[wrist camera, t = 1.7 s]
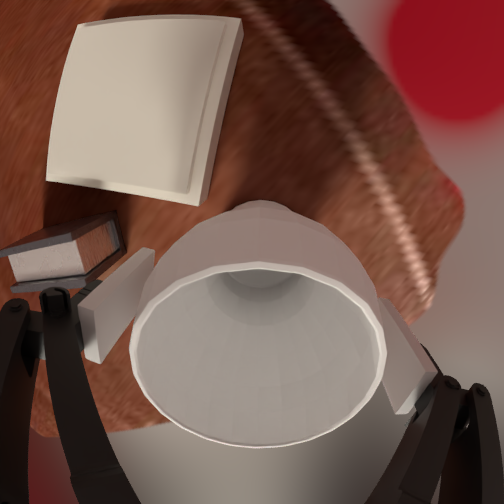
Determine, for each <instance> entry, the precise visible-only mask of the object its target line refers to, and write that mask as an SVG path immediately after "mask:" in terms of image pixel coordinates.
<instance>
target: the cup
mask: <svg viewBox="0 0 504 504" xmlns="http://www.w3.org/2000/svg"><path fill="white" fill-rule="evenodd" d="M129 352H130V358H131V363H132V369H133V374H134V376H135V378H136V380H137V382H138V384H139V386H140V388H141V389H142V391H143V393H144V395H145V396H146V397H147V398H148V400H149V401H150V402H151V403H152V404H153V405H154V406H155V407H156V409H157V410H158V411H159V412H160V413H161V414H163V415H164V416H165V417H167V418H168V419H169V420H171V421H172V422H174V423H175V424H176V425H178V426H179V427H181V428H183V429H185V430H187V431H189V432H191V433H193V434H195V435H197V436H200V437H202V438H204V439H207V440H211V441H214V442H218V443H222V444H226V445H230V446H237V447H247V448H272V447H284V446H288V445H293V444H297V443H302V442H306V441H309V440H312V439H314V438H317V437H319V436H321V435H324V434H326V433H328V432H331V431H333V430H334V429H336V428H337V427H339V426H341V425H342V424H343V423H345V422H346V421H348V420H349V419H351V418H352V417H354V416H355V415H356V414H357V413H358V412H359V411H360V409H361V408H362V407H363V406H364V405H365V404H366V403H367V402H368V401H369V400H370V399H371V397H372V395H373V394H374V392H375V390H376V388H377V387H378V385H379V383H380V381H381V379H382V377H383V373H384V368H385V363H386V358H387V352H388V351H387V344H386V338H385V332H384V327H383V322H382V317H381V312H380V308H379V303H378V299H377V295H376V291H375V286H374V284H373V283H372V281H371V279H370V278H369V276H368V274H367V273H366V271H365V269H364V268H363V266H362V264H361V263H360V261H359V260H358V259H357V257H356V256H355V255H354V254H353V253H352V251H351V250H350V249H349V248H348V247H347V245H346V244H345V243H344V242H342V241H341V240H340V239H339V238H338V237H337V236H335V235H334V234H333V233H332V232H331V231H329V230H328V229H327V228H326V227H325V226H323V225H322V224H320V223H318V222H315V221H313V220H311V219H309V218H306V217H304V216H302V215H300V214H297V213H295V212H292V211H291V210H290V209H288V208H287V207H286V206H283V205H281V204H279V203H276V202H273V201H266V200H257V201H249V202H246V203H244V204H241V205H239V206H236V207H235V208H234V209H232V210H231V211H227V212H224V213H222V214H219V215H217V216H215V217H212V218H210V219H208V220H205V221H203V222H201V223H198V224H197V225H196V226H194V227H193V228H192V229H191V230H190V231H188V232H187V233H186V234H185V235H184V236H182V237H181V238H180V239H179V240H178V241H176V242H175V243H174V244H173V245H172V246H171V247H170V249H169V250H168V251H167V252H166V253H165V254H164V255H163V256H162V257H161V258H160V260H159V261H158V263H157V265H156V266H155V268H154V269H153V271H152V273H151V274H150V276H149V277H148V279H147V281H146V282H145V284H144V288H143V291H142V294H141V298H140V301H139V305H138V309H137V312H136V316H135V320H134V324H133V329H132V334H131V339H130V345H129Z"/></svg>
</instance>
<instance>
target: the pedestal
mask: <svg viewBox="0 0 504 504" xmlns="http://www.w3.org/2000/svg"><path fill="white" fill-rule="evenodd" d="M243 36H244V32H243V27H242V21H241V18H233V17H222V16H208V15H148V16H134V17H124V18H115V19H108V20H101V21H95V22H89V23H84V24H79V25H78V26H77V29H76V32H75V34H74V37H73V40H72V43H71V46H70V49H69V53H68V56H67V59H66V63H65V66H64V70H63V74H62V78H61V82H60V86H59V90H58V95H57V99H56V104H55V110H54V115H53V121H52V127H51V134H50V142H49V150H48V160H47V173H46V181H53V182H60V183H67V184H73V185H80V186H86V187H93V188H99V189H105V190H111V191H117V192H123V193H129V194H135V195H141V196H146V197H152V198H157V199H163V200H168V201H174V202H179V203H184V204H189V205H194V206H199V205H201V204H202V203H203V202H204V201H205V200H206V199H207V197H208V192H209V186H210V181H211V176H212V170H213V165H214V160H215V155H216V150H217V145H218V140H219V136H220V131H221V126H222V122H223V117H224V113H225V108H226V104H227V100H228V95H229V91H230V87H231V83H232V79H233V75H234V71H235V67H236V63H237V59H238V55H239V51H240V48H241V44H242V40H243Z"/></svg>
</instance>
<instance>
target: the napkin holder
mask: <svg viewBox="0 0 504 504" xmlns="http://www.w3.org/2000/svg"><path fill="white" fill-rule="evenodd" d="M126 253H127V252H126V248H125V245H124V241H123V237H122V233H121V229H120V225H119V221H118V216H117V212H116V210H115V211H110V212H106V213H102V214H97V215H93V216H89V217H85V218H81V219H77V220H73V221H69V222H65V223H61V224H57V225H54V226H50V227H46V228H43V229H41V230H38V231H36V232H34V233H32V234H30V235H28V236H26V237H24V238H22V239H20V240H18V241H16V242H14V243H12V244H10V245H9V246H7V247H5V248H3V249H1V250H0V257H4V256H8V257H9V260H10V263H11V266H12V269H13V272H14V275H15V278H16V280H17V282H16V283H15V284H13V285H12V286H11V287H10V288H11V291H12V293H19V292H33V291H43V290H44V289H47V288H49V287H62V288H65V289H72V288H83V287H85V286H86V285H87V284H88V283H90V282H92V281H95V280H96V279H97V278H98V277H99V276H100V275H102V274H103V273H104V272H105V271H106V270H107V269H108V268H110V267H111V266H112V265H113V264H114V263H115V262H117V261H118V260H119V259H120V258H121V257H123V256H124V255H125V254H126Z"/></svg>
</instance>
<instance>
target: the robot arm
mask: <svg viewBox="0 0 504 504" xmlns="http://www.w3.org/2000/svg"><path fill="white" fill-rule="evenodd" d="M154 256H155V250H153V249H148V248H144V247H142V248H141V249H140V250H139V251H138V252H136V253H135V254H134V255H133V256H132V257H130V258H129V259H128V260H127V261H126V262H125V263H123V264H122V265H121V266H120V267H119V268H118V269H117V270H115V271H114V272H113V273H112V274H111V275H110V276H109V277H108V278H106V279H105V280H104V281H101V280H98V279H97V280H95V281H92V282H90V283H88V284H87V285H86V286H85V287H83V289H81V290H80V291H79V292H78V293H76V294H75V295H74V296H73V297H72V298H71V299H70V293H69V291H68V290H66V289H65V288H62V287H49V288H47V289H44V290H43V291H42V292H41V293H40V295H39V299H40V304H41V310H42V312H37V311H31V310H30V308H29V304H28V302H27V301H26V300H24V299H20V298H17V299H16V298H15V299H11V300H9V301H8V302H6V303H5V304H4V305H3V307H2V309H1V311H0V504H29V489H28V445H29V444H28V443H29V428H30V418H31V409H32V401H33V394H34V388H35V382H36V376H37V371H38V366H39V361H40V359H44V360H46V368H47V375H48V382H49V388H50V394H51V400H52V405H53V410H54V415H55V419H56V423H57V427H58V431H59V435H60V439H61V443H62V446H63V450H64V453H65V456H66V459H67V462H68V465H69V469H70V472H71V477H70V479H71V484H72V487H73V489H74V492H75V494H76V497H77V500H78V502H79V504H141V502H140V501H139V499H138V497H137V496H136V494H135V492H134V490H133V488H132V486H131V484H130V483H129V481H128V479H127V477H126V475H125V473H124V471H123V469H122V468H121V466H120V464H119V462H118V460H117V458H116V456H115V453H114V451H113V449H112V447H111V444H110V442H109V440H108V437H107V434H106V432H105V429H104V427H103V424H102V422H101V419H100V416H99V413H98V411H97V408H96V405H95V402H94V399H93V396H92V393H91V389H90V386H89V383H88V379H87V376H86V372H85V369H84V365H83V361H82V357H81V351H82V350H83V349H84V352H85V357H86V359H89V360H91V361H94V362H96V363H99V364H101V363H102V362H103V360H104V359H105V357H106V356H107V354H108V353H109V351H110V350H111V349H112V347H113V346H114V344H115V343H116V341H117V340H118V339H119V337H120V336H121V334H122V333H123V332H124V330H125V329H126V327H127V326H128V325H129V323H130V322H131V321H132V319H133V318H134V316H135V315H136V312H137V309H138V305H139V301H140V298H141V294H142V291H143V288H144V284H145V282H146V281H147V279H148V277H149V276H150V274H151V273H152V271H153V269H154ZM378 303H379V308H380V312H381V317H382V322H383V327H384V332H385V338H386V344H387V351H388V352H387V358H386V363H385V368H384V373H383V377H382V379H381V380H382V382H383V385H384V388H385V390H386V392H387V395H388V397H389V400H390V403H391V405H392V408H393V410H394V412H395V414H407V413H408V412H409V411H410V410H411V408H412V407H413V406H414V405H415V408H416V410H417V411H416V412H415V413H414V415H413V416H412V417H411V419H409V421H408V422H407V423H406V424H405V426H407V425H408V424H409V425H408V427H407V429H406V431H405V434H404V436H403V438H402V440H401V442H400V444H399V446H398V448H397V450H396V452H395V454H394V455H393V457H392V459H391V461H390V463H389V465H388V466H387V468H386V470H385V472H384V473H383V475H382V477H381V478H380V480H379V482H378V483H377V485H376V487H375V488H374V490H373V491H372V493H371V494H370V496H369V497H368V499H367V500H366V502H365V503H364V504H431V499H432V497H433V495H434V492H435V489H436V487H437V484H438V481H439V478H440V476H441V484H440V493H439V501H438V504H504V479H503V467H502V456H501V448H500V441H499V435H498V430H497V424H496V419H495V414H494V409H493V405H492V400H491V397H490V393H489V392H488V390H487V388H486V387H484V385H481V384H479V383H474V384H473V385H472V387H471V388H470V389H469V390H465V389H461V386H460V384H459V382H458V381H457V380H456V379H454V378H453V377H451V376H446V375H445V376H444V375H443V373H442V372H441V370H440V369H439V367H438V366H437V364H436V362H435V361H434V359H433V358H432V356H430V353H429V352H428V350H427V349H426V348H425V347H424V346H423V345H422V344H421V343H419V341H418V340H417V338H416V337H415V335H414V334H413V332H412V331H411V330H410V328H409V327H408V325H407V324H406V322H405V321H404V319H403V318H402V317H401V315H400V314H399V312H398V311H397V310H396V308H395V307H394V305H393V304H392V303H391V301H390V300H389V299H384V298H378ZM468 424H469V425H468ZM467 425H468V427H467V429H466V426H467Z"/></svg>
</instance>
